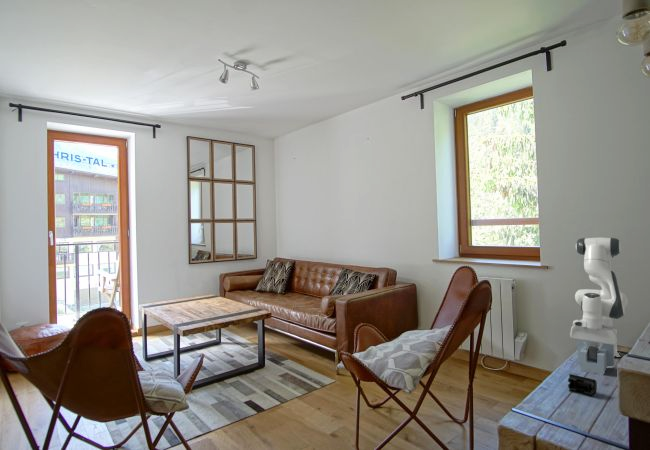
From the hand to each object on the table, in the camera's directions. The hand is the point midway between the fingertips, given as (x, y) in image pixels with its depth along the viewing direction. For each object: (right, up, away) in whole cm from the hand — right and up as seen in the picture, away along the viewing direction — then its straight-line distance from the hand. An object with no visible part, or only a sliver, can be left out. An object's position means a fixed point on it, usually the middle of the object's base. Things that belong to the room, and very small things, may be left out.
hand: (593, 349), depth 194 cm
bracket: (0, -4, 0) cm, 4 cm away
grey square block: (+1, -11, +1) cm, 11 cm away
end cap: (-27, -10, -29) cm, 41 cm away
